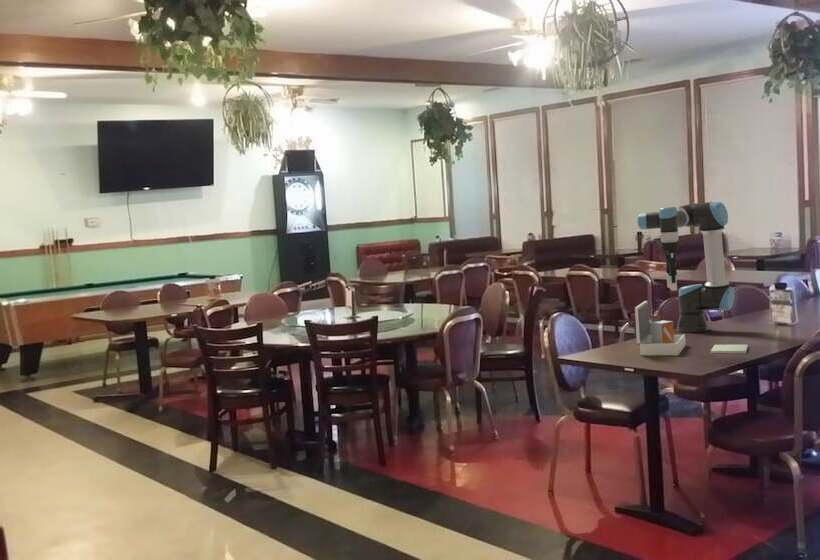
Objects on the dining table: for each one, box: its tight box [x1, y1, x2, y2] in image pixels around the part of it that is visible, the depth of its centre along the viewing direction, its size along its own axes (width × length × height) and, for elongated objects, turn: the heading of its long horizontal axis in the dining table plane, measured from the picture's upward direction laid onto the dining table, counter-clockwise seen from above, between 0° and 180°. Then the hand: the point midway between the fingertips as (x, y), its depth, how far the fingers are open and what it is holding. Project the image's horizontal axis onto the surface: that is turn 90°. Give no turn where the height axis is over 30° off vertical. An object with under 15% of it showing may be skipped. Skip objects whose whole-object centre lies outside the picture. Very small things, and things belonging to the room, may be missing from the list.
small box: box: [651, 320, 675, 344], centre depth 372 cm, size 8×6×13 cm
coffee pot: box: [649, 308, 665, 335], centre depth 396 cm, size 21×12×15 cm, turn 147°
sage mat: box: [710, 344, 749, 354], centre depth 361 cm, size 16×14×1 cm
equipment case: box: [634, 300, 686, 356], centre depth 373 cm, size 26×17×21 cm, turn 154°
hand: (672, 289), depth 370 cm, fingers open, 13 cm apart
